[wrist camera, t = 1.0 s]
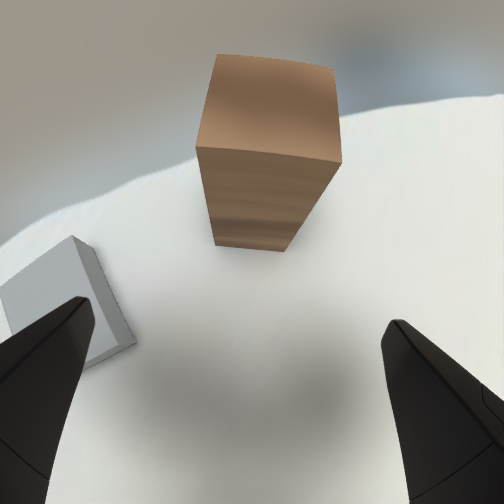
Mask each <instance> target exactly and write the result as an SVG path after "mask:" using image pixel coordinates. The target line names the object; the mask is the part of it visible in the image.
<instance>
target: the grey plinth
mask: <svg viewBox="0 0 504 504" xmlns="http://www.w3.org/2000/svg"><path fill="white" fill-rule="evenodd" d="M75 296H83V297H87V298H89V299H90V302H91V305H92V309H93V312H94V316H95V327H94V331H93V334H92V338H91V341H90V345H89V349H88V353H87V357H86V361H85V364H84V368H83V370H82V371H84V370H86V369H88V368H90V367H91V366H93V365H95V364H97V363H99V362H101V361H103V360H105V359H106V358H108V357H110V356H112V355H114V354H116V353H118V352H119V351H121V350H123V349H125V348H127V347H129V346H130V345H132V344H134V343H136V340H135V338H134V336H133V334H132V332H131V330H130V328H129V326H128V324H127V322H126V320H125V318H124V316H123V314H122V312H121V310H120V308H119V306H118V304H117V302H116V300H115V298H114V295H113V293H112V291H111V289H110V287H109V284H108V282H107V280H106V278H105V275H104V273H103V271H102V268H101V266H100V263H99V261H98V259H97V256H96V254H95V251H94V249H93V248H92V247H90V246H89V245H87V244H85V243H84V242H82V241H81V240H79V239H77V238H76V237H74V236H73V235H71V236H69V237H68V238H66V239H65V240H63V241H62V242H60V243H59V244H58V245H56V246H55V247H53V248H52V249H50V250H49V251H47V252H46V253H45V254H43V255H42V256H40V257H39V258H38V259H36V260H35V261H33V262H32V263H31V264H29V265H28V266H27V267H25V268H24V269H23V270H21V271H20V272H19V273H17V274H16V275H15V276H13V277H12V278H11V279H9V280H8V281H7V282H6V283H4V284H3V285H2V286H0V298H1V301H2V305H3V308H4V311H5V315H6V318H7V321H8V324H9V327H10V330H11V333H12V336H13V335H15V334H16V333H18V332H19V331H21V330H22V329H24V328H25V327H27V326H28V325H30V324H32V323H33V322H35V321H36V320H38V319H40V318H41V317H43V316H44V315H46V314H48V313H49V312H51V311H52V310H54V309H56V308H57V307H59V306H60V305H62V304H64V303H65V302H67V301H69V300H70V299H72V298H74V297H75Z"/></svg>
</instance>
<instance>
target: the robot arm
mask: <svg viewBox="0 0 504 504" xmlns="http://www.w3.org/2000/svg"><path fill="white" fill-rule="evenodd" d="M94 327H95V316H94V312H93V309H92V305H91V302H90V299H89V298H87V297H83V296H75V297H74V298H72V299H70V300H69V301H67V302H65V303H64V304H62V305H60V306H59V307H57V308H56V309H54V310H52V311H51V312H49V313H48V314H46V315H44V316H43V317H41V318H40V319H38V320H36V321H35V322H33V323H32V324H30V325H28V326H27V327H25V328H24V329H22V330H21V331H19V332H18V333H16V334H15V335H13V336H11V337H10V338H8V339H7V340H5V341H4V342H2V343H1V344H0V504H45V500H46V495H47V491H48V486H49V480H50V476H51V472H52V468H53V464H54V460H55V456H56V452H57V449H58V445H59V441H60V438H61V434H62V431H63V427H64V424H65V421H66V418H67V414H68V411H69V408H70V405H71V402H72V399H73V396H74V393H75V390H76V387H77V385H78V382H79V379H80V376H81V373H82V370H83V368H84V364H85V361H86V357H87V353H88V349H89V345H90V341H91V338H92V334H93V331H94ZM381 349H382V355H383V361H384V368H385V375H386V382H387V388H388V393H389V397H390V401H391V405H392V410H393V414H394V419H395V423H396V428H397V433H398V437H399V442H400V448H401V453H402V458H403V464H404V470H405V476H406V482H407V489H408V495H409V501H410V502H409V504H504V401H503V400H502V399H500V398H499V397H498V396H497V395H495V394H494V393H493V392H492V391H491V390H489V389H488V388H487V387H486V386H485V385H484V384H482V383H481V382H480V381H479V380H478V379H476V378H475V377H474V376H473V375H472V374H470V373H469V372H468V371H467V370H466V369H464V368H463V367H462V366H461V365H460V364H458V363H457V362H456V361H455V360H454V359H452V358H451V357H450V356H449V355H447V354H446V353H445V352H444V351H442V350H441V349H440V348H439V347H438V346H436V345H435V344H434V343H433V342H431V341H430V340H429V339H428V338H426V337H425V336H424V335H423V334H421V333H420V332H419V331H418V330H416V329H415V328H414V327H412V326H411V325H410V324H409V323H407V322H406V321H405V320H402V319H394V320H391V321H390V322H389V324H388V327H387V329H386V331H385V333H384V335H383V337H382V340H381Z"/></svg>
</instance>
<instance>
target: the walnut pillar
mask: <svg viewBox="0 0 504 504" xmlns="http://www.w3.org/2000/svg"><path fill="white" fill-rule="evenodd" d="M196 151H197V157H198V162H199V167H200V173H201V178H202V183H203V188H204V193H205V198H206V203H207V208H208V213H209V218H210V223H211V228H212V232H213V237H214V242H215V245H216V246H226V247H236V248H247V249H257V250H268V251H278V252H284V251H285V249H286V248H287V246H288V245H289V243H290V242H291V240H292V239H293V237H294V236H295V234H296V233H297V231H298V230H299V228H300V227H301V225H302V224H303V222H304V221H305V219H306V218H307V216H308V215H309V213H310V212H311V210H312V209H313V207H314V206H315V204H316V203H317V201H318V200H319V198H320V197H321V195H322V193H323V192H324V190H325V189H326V187H327V186H328V184H329V183H330V181H331V180H332V178H333V176H334V175H335V173H336V172H337V170H338V169H339V167H340V166H341V164H342V152H341V137H340V125H339V114H338V103H337V93H336V84H335V76H334V69H333V68H328V67H323V66H318V65H312V64H306V63H300V62H294V61H287V60H280V59H272V58H263V57H252V56H240V55H224V54H217V57H216V61H215V65H214V69H213V72H212V77H211V80H210V84H209V89H208V93H207V97H206V101H205V105H204V110H203V114H202V119H201V123H200V128H199V132H198V137H197V142H196Z"/></svg>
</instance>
